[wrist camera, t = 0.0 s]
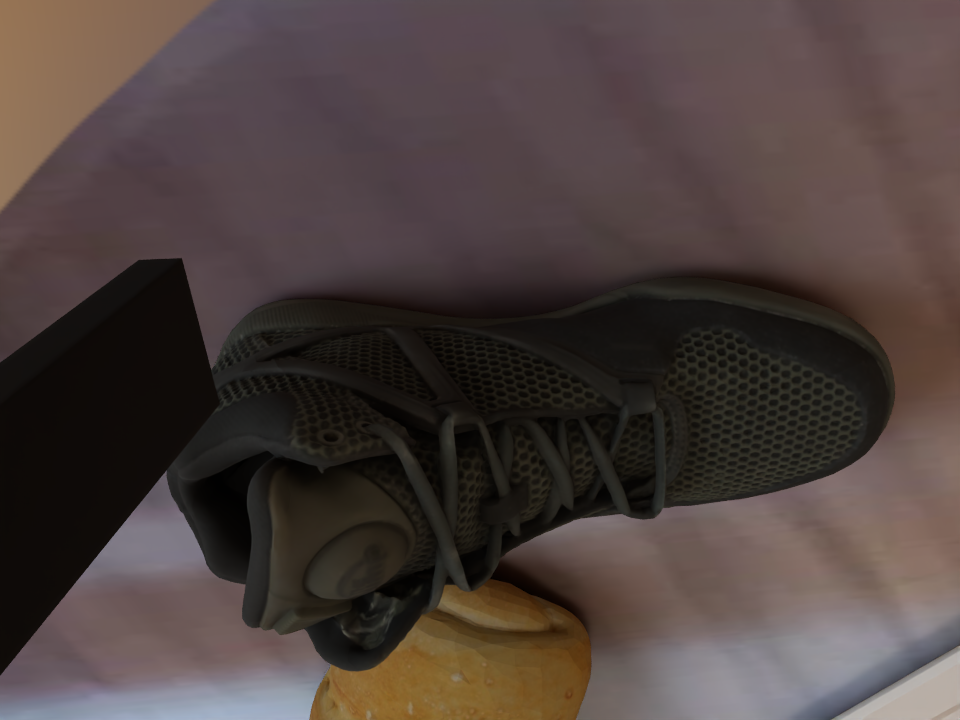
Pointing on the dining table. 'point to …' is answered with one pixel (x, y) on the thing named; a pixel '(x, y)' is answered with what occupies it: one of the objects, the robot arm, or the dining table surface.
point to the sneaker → (500, 438)
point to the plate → (916, 694)
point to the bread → (471, 664)
